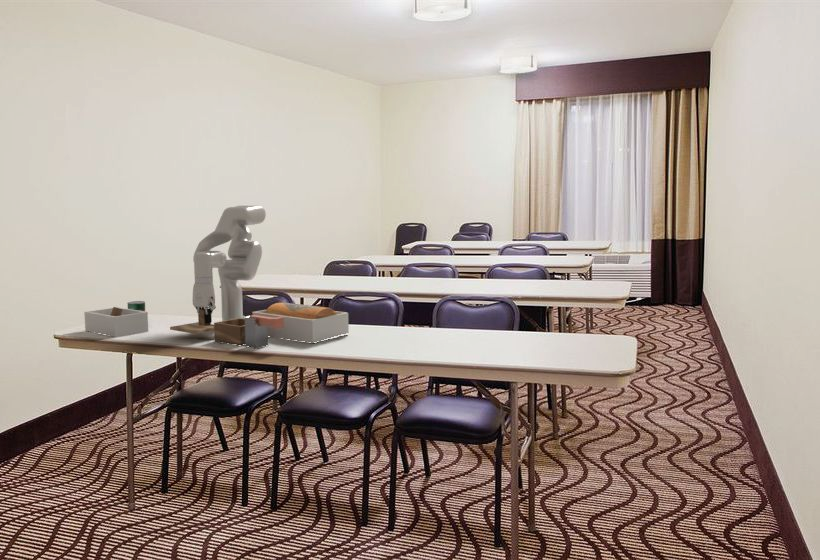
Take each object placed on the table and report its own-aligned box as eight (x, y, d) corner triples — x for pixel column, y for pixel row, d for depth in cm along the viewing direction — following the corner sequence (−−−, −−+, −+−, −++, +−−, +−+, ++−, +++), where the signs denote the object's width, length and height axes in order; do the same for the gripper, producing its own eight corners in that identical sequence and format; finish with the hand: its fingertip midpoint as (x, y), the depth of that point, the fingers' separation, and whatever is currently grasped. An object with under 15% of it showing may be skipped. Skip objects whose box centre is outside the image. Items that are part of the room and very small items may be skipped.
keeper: (258, 343, 281) (257, 315, 279) (268, 345, 277) (267, 316, 276) (245, 346, 275) (244, 317, 274) (255, 348, 272) (255, 319, 270)
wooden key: (256, 323, 278) (256, 313, 278) (284, 327, 269) (283, 317, 269) (248, 324, 275) (247, 315, 274) (276, 329, 266) (275, 318, 265)
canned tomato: (131, 323, 327) (130, 301, 326) (148, 323, 328) (147, 300, 326) (125, 326, 319) (124, 303, 318) (142, 326, 320) (141, 303, 318)
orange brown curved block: (340, 337, 296) (340, 305, 294) (314, 343, 282) (313, 310, 281) (291, 329, 313) (290, 299, 311) (264, 335, 300) (263, 304, 298)
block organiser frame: (117, 325, 320) (116, 307, 319) (148, 331, 307) (147, 312, 306) (85, 331, 307) (84, 311, 306) (115, 337, 294) (114, 317, 293)
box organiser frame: (289, 326, 319) (289, 305, 318) (348, 335, 299) (348, 312, 298) (252, 334, 300) (252, 312, 299) (312, 344, 280) (312, 320, 279)
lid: (198, 324, 303) (197, 306, 302) (222, 328, 293) (222, 310, 292) (170, 329, 291) (169, 310, 290) (194, 333, 281) (194, 314, 281)
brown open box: (240, 335, 297) (239, 317, 296) (265, 340, 288) (265, 321, 287) (214, 341, 286) (214, 322, 285) (240, 345, 277) (239, 326, 276)
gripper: (184, 280, 295) (185, 321, 297) (209, 282, 286) (210, 325, 288) (198, 278, 301) (199, 319, 303) (223, 281, 292) (224, 323, 294)
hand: (205, 322), depth 296 cm, fingers closed on lid, 3 cm apart
